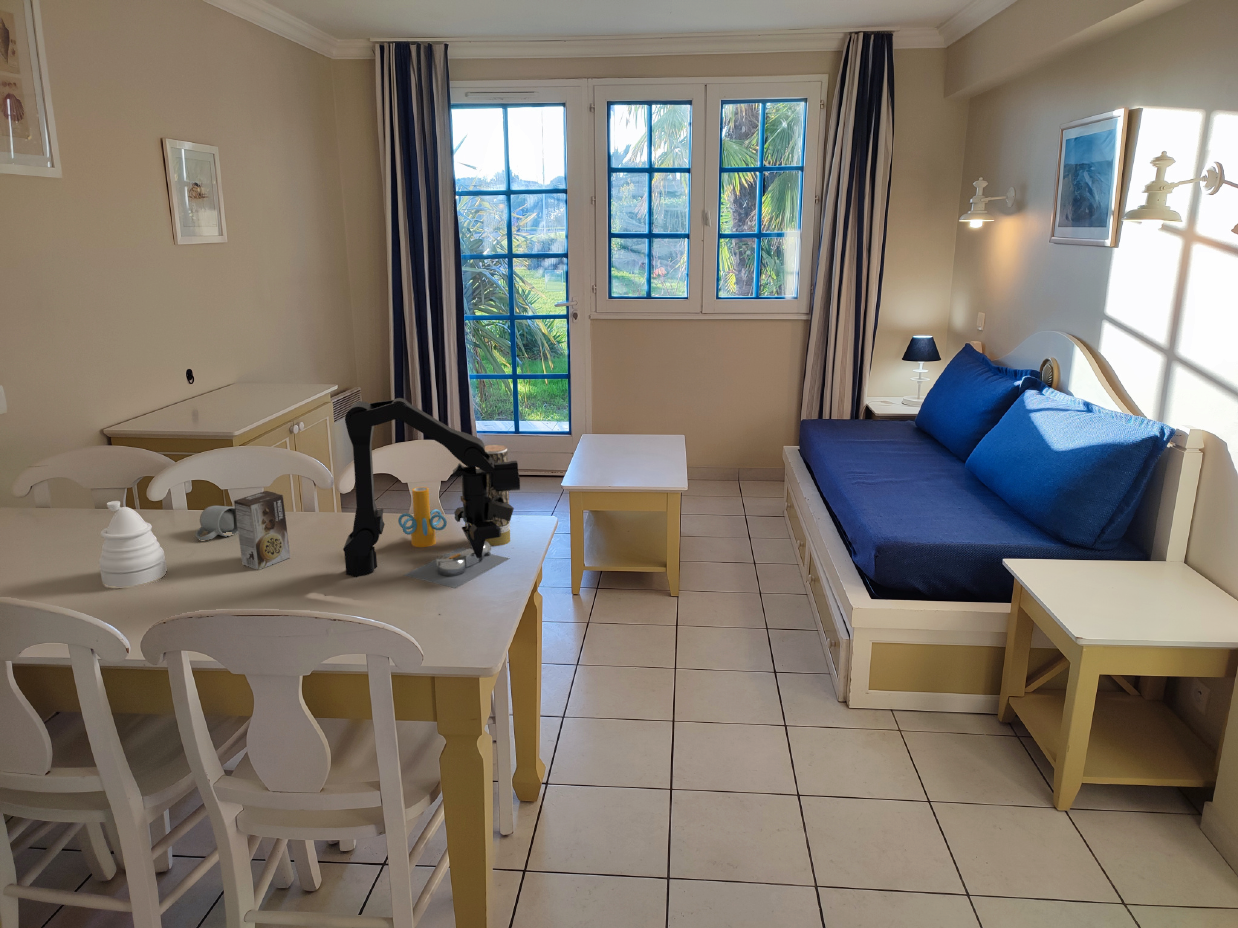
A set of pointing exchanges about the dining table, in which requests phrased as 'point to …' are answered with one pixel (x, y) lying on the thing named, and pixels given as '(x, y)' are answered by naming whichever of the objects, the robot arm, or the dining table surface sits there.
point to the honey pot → (130, 550)
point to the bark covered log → (498, 455)
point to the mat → (471, 572)
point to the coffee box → (262, 529)
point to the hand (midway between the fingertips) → (479, 557)
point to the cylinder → (422, 519)
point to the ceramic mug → (217, 522)
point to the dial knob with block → (456, 562)
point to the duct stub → (486, 550)
